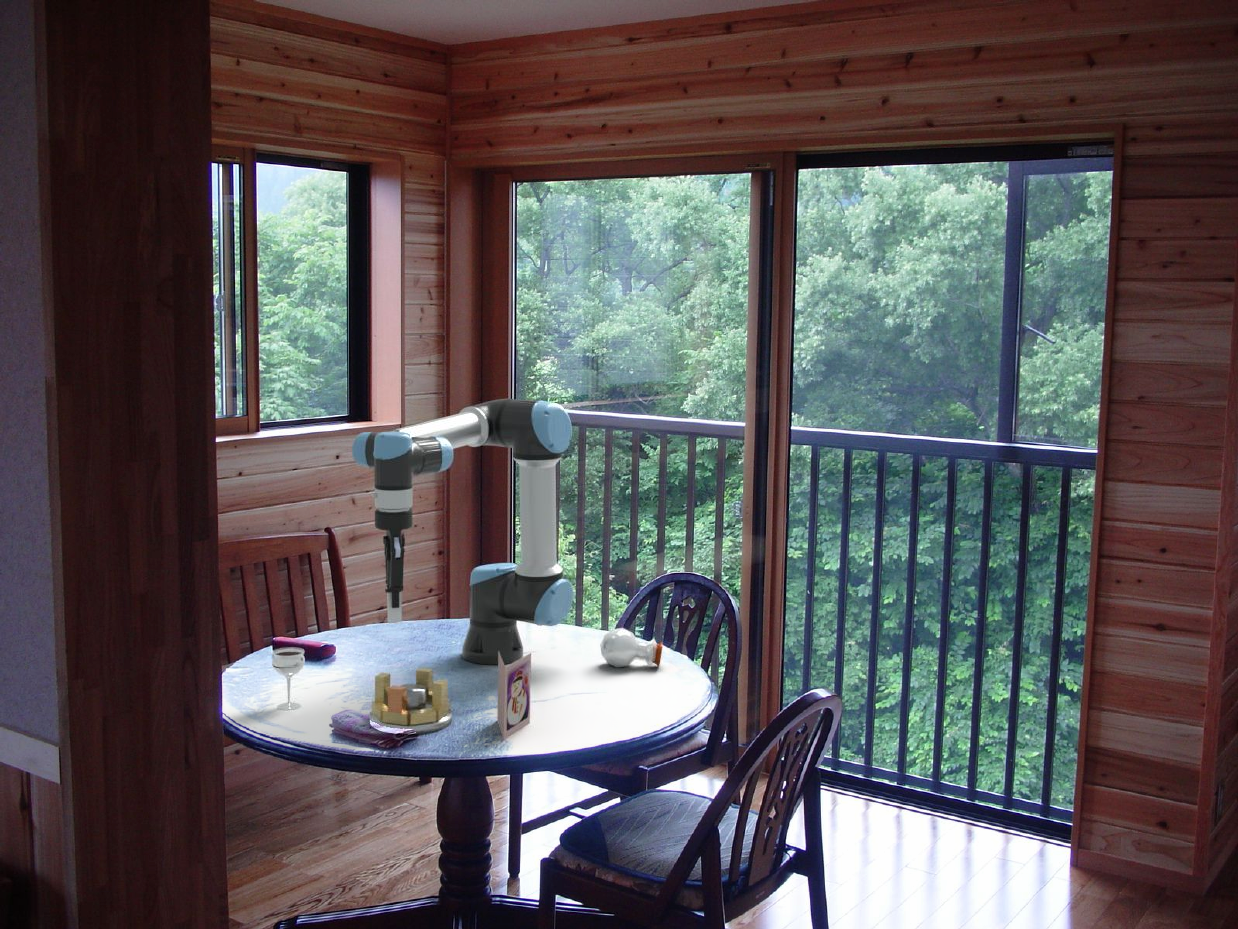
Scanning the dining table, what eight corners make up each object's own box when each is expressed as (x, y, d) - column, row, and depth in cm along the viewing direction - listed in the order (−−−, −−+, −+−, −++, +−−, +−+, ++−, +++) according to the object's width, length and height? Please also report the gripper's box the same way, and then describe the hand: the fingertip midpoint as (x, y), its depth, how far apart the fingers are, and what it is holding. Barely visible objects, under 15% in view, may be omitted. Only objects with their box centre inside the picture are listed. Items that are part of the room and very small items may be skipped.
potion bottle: (596, 669, 294) (656, 678, 294) (598, 656, 285) (660, 665, 285) (601, 634, 298) (661, 643, 298) (603, 620, 290) (664, 629, 289)
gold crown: (394, 697, 258) (394, 664, 257) (458, 705, 254) (459, 672, 253) (361, 719, 243) (361, 685, 242) (428, 728, 239) (429, 693, 238)
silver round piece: (445, 705, 259) (445, 673, 258) (458, 731, 243) (458, 698, 242) (365, 710, 254) (365, 678, 253) (373, 738, 238) (373, 704, 237)
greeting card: (507, 740, 239) (508, 667, 237) (475, 734, 242) (476, 662, 240) (533, 723, 249) (534, 653, 248) (502, 717, 252) (503, 648, 250)
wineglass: (287, 713, 251) (287, 658, 250) (265, 707, 255) (265, 652, 253) (311, 705, 257) (311, 651, 255) (289, 699, 260) (289, 645, 259)
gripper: (371, 503, 246) (372, 614, 250) (378, 515, 234) (379, 631, 237) (407, 502, 249) (408, 612, 252) (416, 513, 236) (417, 629, 240)
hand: (394, 621), depth 245 cm, fingers closed
